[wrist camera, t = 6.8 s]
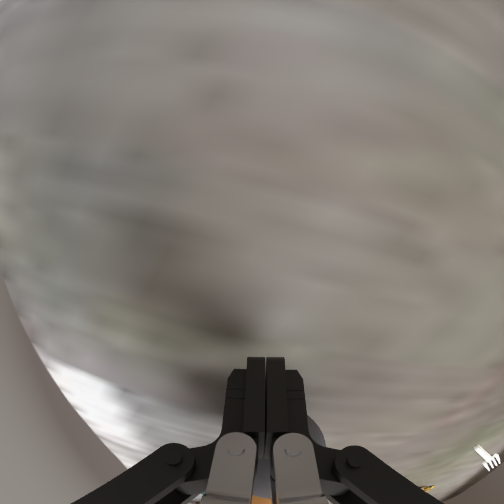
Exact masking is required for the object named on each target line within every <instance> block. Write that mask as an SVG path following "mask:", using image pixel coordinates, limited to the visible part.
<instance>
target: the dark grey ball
mask: <svg viewBox="0 0 504 504" xmlns="http://www.w3.org/2000/svg"><path fill="white" fill-rule="evenodd" d="M307 421H308V430H309V434H310V436H311V438H312V439H313V440H314V441H315V442H316V443H317V444H319V445H321V446H323V447H326V444H325V440H324V436H323V434H322V432H321V430H320V428H319V427H318V425H317V424H316V423H315V422H314V421H313V420H312V419H311V418H310V417H309V416H308V415H307ZM269 471H270V459H264V447H263V458H262V459H258V467H257V474H256V476H255V481H254V489H253V495H254V496H257V497H261V498H269V499H271V494H270V483H269Z"/></svg>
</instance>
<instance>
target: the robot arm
mask: <svg viewBox="0 0 504 504" xmlns="http://www.w3.org/2000/svg"><path fill="white" fill-rule="evenodd" d="M263 447H264V459H270V471H269V483H270V494H271V504H329V503H328V500H329V501H330V502H332V503H333V504H444V503H442V502H440V501H439V500H437V499H436V498H434V497H433V496H431V495H430V494H428V493H427V492H425V491H424V490H422V489H421V488H419V487H418V486H416V485H415V484H413V483H412V482H411V481H409V480H408V479H406V478H405V477H403V476H402V475H401V474H399V473H398V472H396V471H395V470H394V469H392V468H391V467H390V466H388V465H387V464H386V463H384V462H383V461H381V460H380V459H379V458H377V457H376V456H375V455H373V454H372V453H371V452H370V451H368V450H367V449H365V448H363V447H361V446H348V447H345V448H343V449H342V450H337V449H332V448H327V447H323V446H321V445H319V444H317V443H316V442H315V441H314V440H313V439H312V438H311V436H310V434H309V430H308V421H307V411H306V402H305V393H304V384H303V379H302V377H301V375H300V374H299V372H298V371H297V370H285V359H284V357H267V358H266V374H265V357H247V369H234V370H233V371H232V373H231V374H230V376H229V377H228V382H227V391H226V400H225V407H224V415H223V424H222V431H221V434H220V436H219V437H218V438H217V439H216V440H215V441H214V442H213V443H211V444H209V445H206V446H202V447H196V448H190V449H189V448H187V447H186V446H184V445H182V444H178V443H169V444H166V445H163V446H162V447H160V448H159V449H157V450H156V451H154V452H153V453H152V454H150V455H149V456H147V457H146V458H144V459H143V460H141V461H140V462H138V463H137V464H135V465H134V466H132V467H131V468H129V469H128V470H127V471H125V472H123V473H122V474H120V475H119V476H117V477H115V478H114V479H112V480H111V481H109V482H107V483H106V484H104V485H102V486H101V487H99V488H97V489H96V490H94V491H92V492H91V493H89V494H87V495H85V496H84V497H82V498H80V499H79V500H77V501H75V502H73V503H71V504H187V503H189V502H190V501H191V500H192V499H194V498H195V497H196V496H198V495H199V494H200V493H204V492H205V494H203V496H202V498H201V501H200V504H252V497H253V489H254V481H255V476H256V474H257V467H258V459H262V458H263ZM327 499H328V500H327Z"/></svg>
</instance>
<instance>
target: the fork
mask: <svg viewBox="0 0 504 504" xmlns="http://www.w3.org/2000/svg"><path fill="white" fill-rule="evenodd" d="M473 448H474V450H475V451H476V452H477V453H479V454H480V455H481V456H482V457H483V458H484V459H485V461H483V462H482V464H483V465H484V466H485V467H486V468H487V469H488V470H489V471H490V469H489V467H488V465H487V463H488V462H489V464H490V465H491V467H492V468H494V467H493V465H492V463H491V460H492V461H493V462H494V463H495V465H496V466H497V463H496V461H495V459H494V457H496V459H497V460H498V462H499V464H500V459H499V455H498V454H497V453H496V454H497V455H496V454H494V455H493V456H491V455H490V454H489V453H487V452H486V451H485V450H484V449H483V448H482V447H481V446H480V445H479V444H478V445H476V446H475V447H473Z"/></svg>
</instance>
